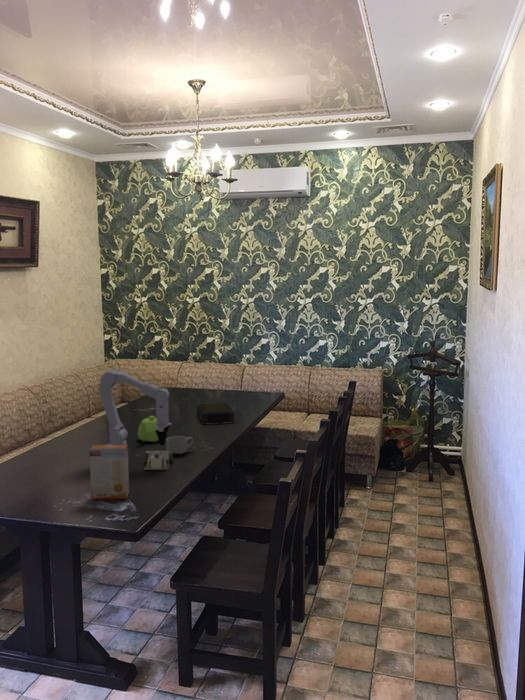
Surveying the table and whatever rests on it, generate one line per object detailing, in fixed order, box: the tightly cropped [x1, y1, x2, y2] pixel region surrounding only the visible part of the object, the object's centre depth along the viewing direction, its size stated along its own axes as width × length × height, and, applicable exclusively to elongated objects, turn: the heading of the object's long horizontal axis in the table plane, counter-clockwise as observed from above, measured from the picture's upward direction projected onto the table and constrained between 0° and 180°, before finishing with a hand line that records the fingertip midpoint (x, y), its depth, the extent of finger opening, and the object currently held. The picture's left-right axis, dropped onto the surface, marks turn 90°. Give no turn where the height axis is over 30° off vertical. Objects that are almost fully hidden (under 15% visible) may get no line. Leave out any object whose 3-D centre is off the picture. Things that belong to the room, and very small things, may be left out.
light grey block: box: [151, 454, 163, 468], centre depth 268 cm, size 5×5×6 cm
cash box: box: [196, 402, 235, 424], centre depth 360 cm, size 25×20×8 cm
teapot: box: [137, 415, 159, 443], centre depth 313 cm, size 22×15×13 cm
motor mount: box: [144, 450, 174, 470], centre depth 272 cm, size 13×15×6 cm
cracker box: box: [89, 444, 130, 500], centre depth 232 cm, size 14×6×21 cm, turn 92°
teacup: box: [165, 435, 194, 455], centre depth 291 cm, size 14×11×8 cm
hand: (162, 442), depth 275 cm, fingers open, 7 cm apart
